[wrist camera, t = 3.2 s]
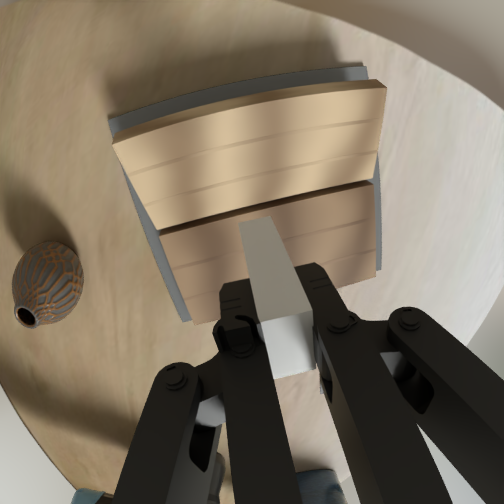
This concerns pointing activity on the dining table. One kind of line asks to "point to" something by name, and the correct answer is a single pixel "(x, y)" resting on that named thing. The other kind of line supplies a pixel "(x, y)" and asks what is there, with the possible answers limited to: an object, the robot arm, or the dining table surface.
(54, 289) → the vase
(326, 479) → the planter
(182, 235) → the laid board
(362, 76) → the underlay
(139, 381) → the dining table surface
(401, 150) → the dining table surface
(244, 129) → the plank
